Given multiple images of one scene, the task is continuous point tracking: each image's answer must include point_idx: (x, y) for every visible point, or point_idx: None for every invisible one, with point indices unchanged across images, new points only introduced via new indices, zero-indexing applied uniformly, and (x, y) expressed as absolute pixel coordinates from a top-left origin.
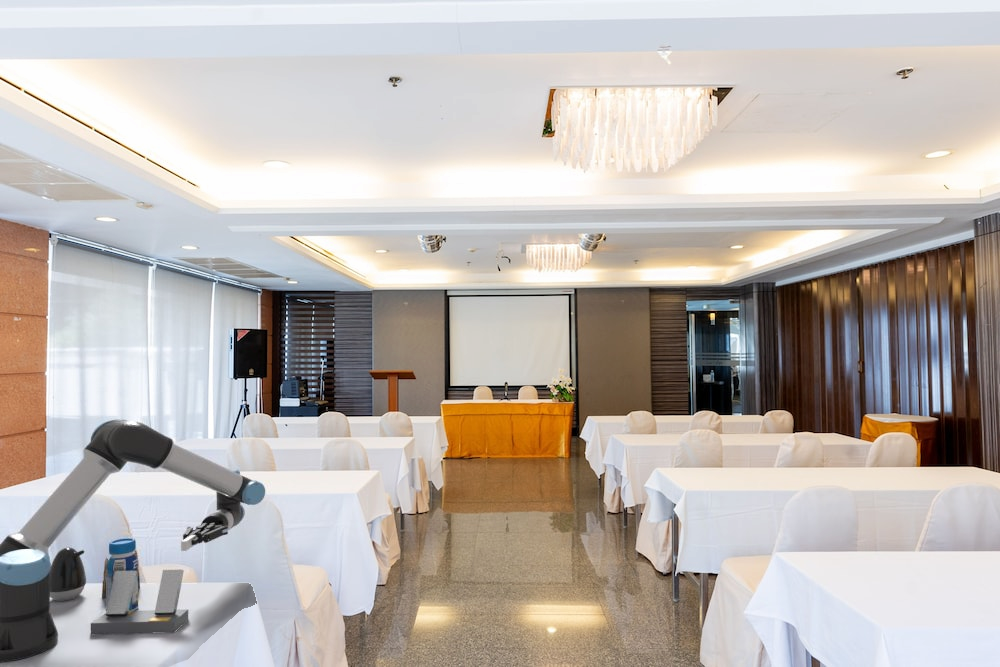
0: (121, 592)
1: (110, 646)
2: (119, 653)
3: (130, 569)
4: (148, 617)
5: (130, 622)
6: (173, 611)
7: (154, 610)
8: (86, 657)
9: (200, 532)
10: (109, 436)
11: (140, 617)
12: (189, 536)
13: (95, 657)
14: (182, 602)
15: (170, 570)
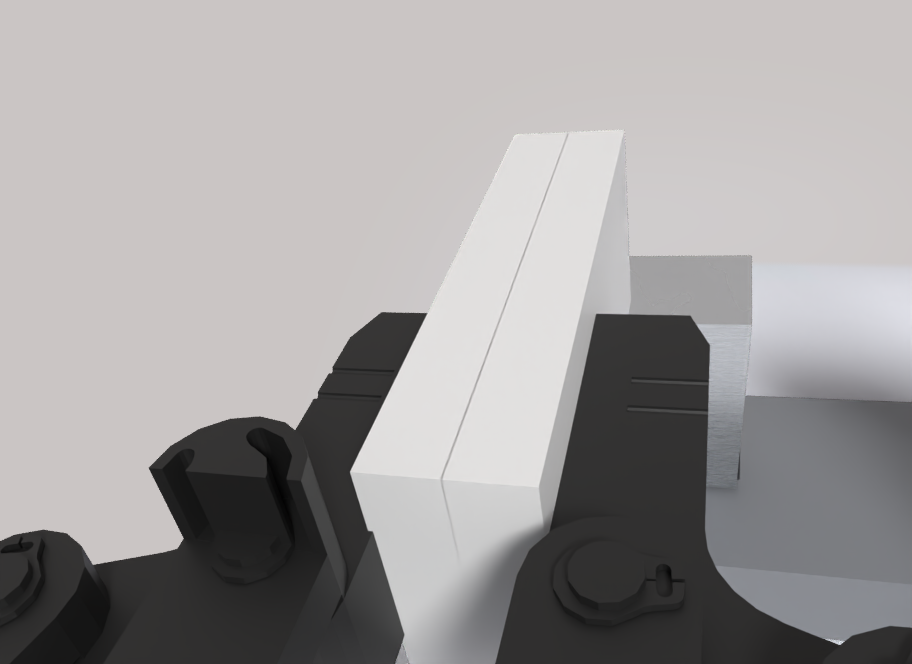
0: None
1: (865, 343)
2: (754, 291)
3: None
4: (777, 451)
5: (869, 401)
6: None
7: (815, 570)
8: (905, 272)
9: (175, 450)
10: None
11: (847, 458)
12: (550, 363)
13: (854, 271)
14: None
15: (656, 260)
